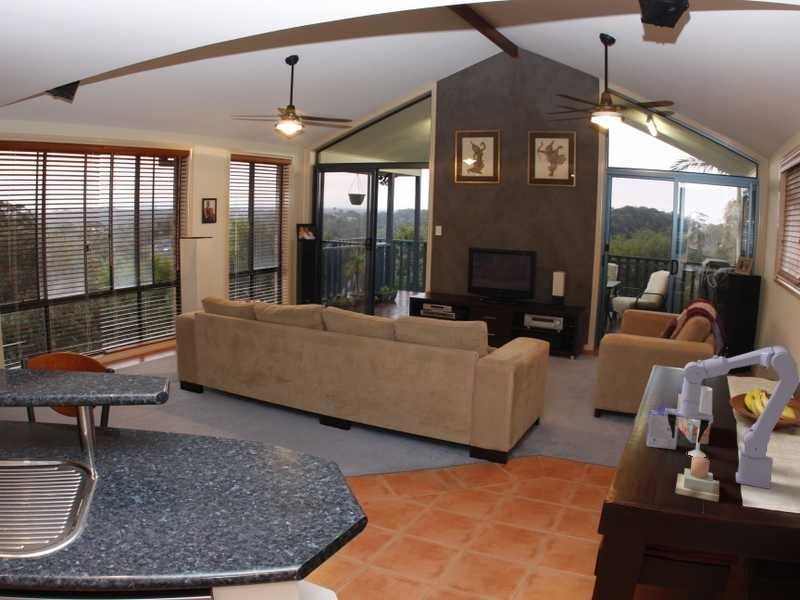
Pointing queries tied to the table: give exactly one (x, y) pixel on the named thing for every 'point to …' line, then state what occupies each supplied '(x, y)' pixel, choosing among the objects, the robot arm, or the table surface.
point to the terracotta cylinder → (699, 467)
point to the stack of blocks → (692, 428)
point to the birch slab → (697, 493)
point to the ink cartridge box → (660, 430)
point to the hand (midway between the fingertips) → (685, 439)
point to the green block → (698, 482)
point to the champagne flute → (706, 409)
